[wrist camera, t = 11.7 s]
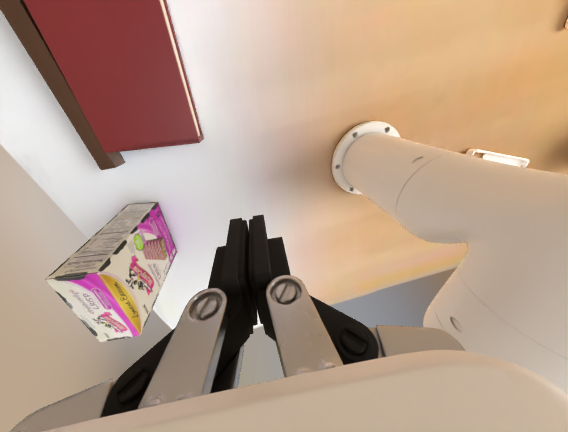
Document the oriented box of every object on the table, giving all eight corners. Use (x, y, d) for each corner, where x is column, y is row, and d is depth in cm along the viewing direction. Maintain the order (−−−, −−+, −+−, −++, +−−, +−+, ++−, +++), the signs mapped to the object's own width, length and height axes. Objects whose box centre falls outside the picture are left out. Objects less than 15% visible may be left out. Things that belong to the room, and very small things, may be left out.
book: (160, -18, 21) (149, -34, 19) (203, 138, 30) (199, 142, 27) (36, -15, 20) (6, -31, 18) (117, 148, 28) (104, 153, 26)
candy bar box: (179, 251, 39) (142, 337, 25) (151, 254, 38) (98, 344, 24) (159, 200, 33) (97, 273, 19) (127, 202, 33) (38, 281, 19)
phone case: (446, 184, 41) (499, 190, 45) (452, 186, 40) (505, 193, 44) (468, 147, 38) (523, 158, 41) (475, 149, 37) (531, 159, 40)
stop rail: (12, -43, 19) (-17, -61, 17) (125, 162, 30) (116, 167, 27) (-11, -41, 19) (-43, -59, 17) (111, 164, 29) (100, 170, 27)
